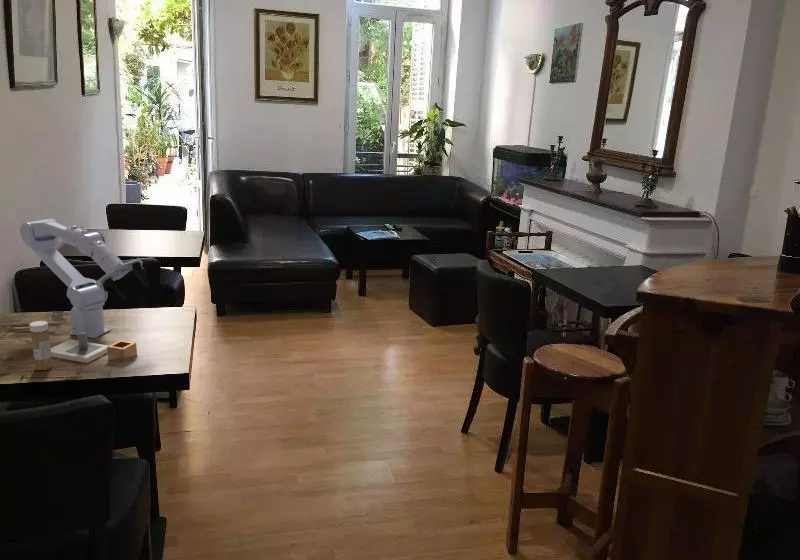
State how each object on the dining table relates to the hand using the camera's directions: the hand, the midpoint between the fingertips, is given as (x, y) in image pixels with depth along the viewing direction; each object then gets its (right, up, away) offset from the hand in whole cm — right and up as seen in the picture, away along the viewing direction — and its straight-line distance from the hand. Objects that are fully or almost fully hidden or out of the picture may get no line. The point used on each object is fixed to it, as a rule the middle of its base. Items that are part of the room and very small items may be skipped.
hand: (136, 291), depth 196 cm
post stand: (-17, -18, -1) cm, 25 cm away
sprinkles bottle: (-21, -22, -11) cm, 33 cm away
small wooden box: (-3, -19, -3) cm, 20 cm away
